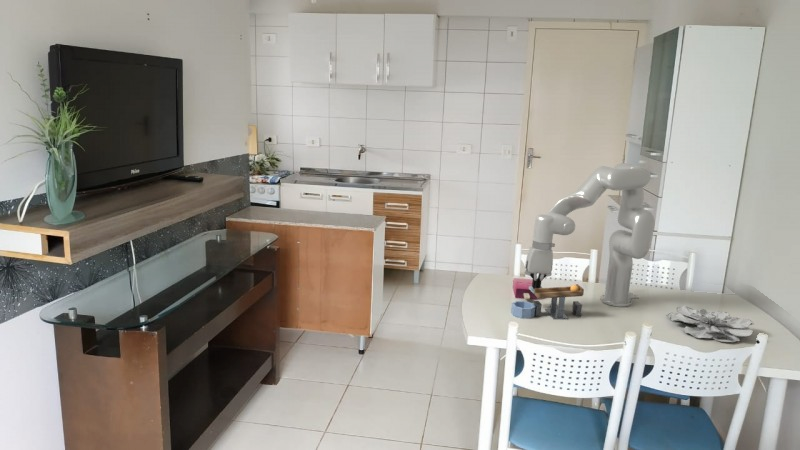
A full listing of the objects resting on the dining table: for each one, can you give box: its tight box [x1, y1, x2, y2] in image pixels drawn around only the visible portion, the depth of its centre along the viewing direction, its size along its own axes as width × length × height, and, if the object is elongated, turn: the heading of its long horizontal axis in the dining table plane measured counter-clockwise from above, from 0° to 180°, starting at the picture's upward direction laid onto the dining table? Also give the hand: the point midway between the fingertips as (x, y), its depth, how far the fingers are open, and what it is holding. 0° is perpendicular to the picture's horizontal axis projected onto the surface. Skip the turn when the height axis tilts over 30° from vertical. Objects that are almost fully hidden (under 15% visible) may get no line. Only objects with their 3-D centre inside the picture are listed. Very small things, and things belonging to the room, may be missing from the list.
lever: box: [529, 283, 585, 300], centre depth 234 cm, size 18×13×3 cm
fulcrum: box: [532, 296, 583, 320], centre depth 231 cm, size 19×10×9 cm, turn 96°
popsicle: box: [512, 277, 538, 301], centre depth 253 cm, size 9×5×20 cm
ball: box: [570, 284, 579, 291], centre depth 231 cm, size 3×3×3 cm
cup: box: [510, 300, 535, 319], centre depth 231 cm, size 9×9×4 cm
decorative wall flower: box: [665, 304, 755, 343], centre depth 225 cm, size 30×7×30 cm
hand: (535, 288), depth 236 cm, fingers closed
